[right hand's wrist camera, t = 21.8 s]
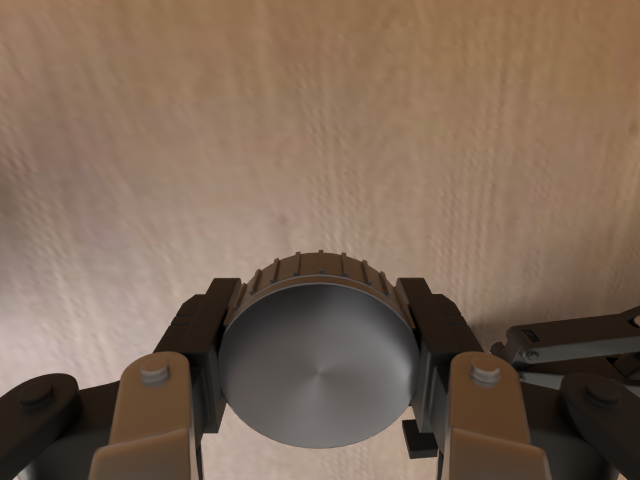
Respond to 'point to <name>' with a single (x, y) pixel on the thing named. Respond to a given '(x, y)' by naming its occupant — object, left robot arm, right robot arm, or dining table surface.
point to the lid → (318, 351)
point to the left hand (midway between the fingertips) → (405, 413)
